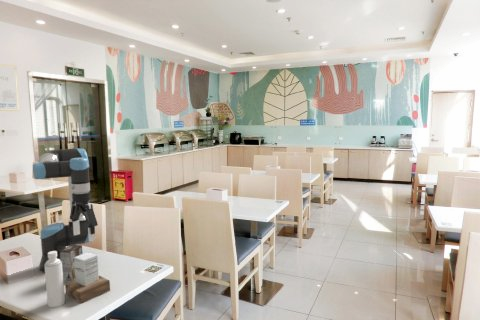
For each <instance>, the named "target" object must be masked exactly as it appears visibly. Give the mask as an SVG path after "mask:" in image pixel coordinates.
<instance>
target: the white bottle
mask: <svg viewBox="0 0 480 320" xmlns="http://www.w3.org/2000/svg"><path fill="white" fill-rule="evenodd" d="M48 258H49V260H48V261H47V262H46V263H45V264H44V266H45V272H44V274H45V275H44V277H45V287H46V298H47V299H46V301H47V306H48V308H58V307H61V306H62V305H64V304H65V302H66V298H65V297H66V296H65V295H66V294H65V282H63V270H62V262H61V260H60V259H57V251H51V252H48Z"/></svg>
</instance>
